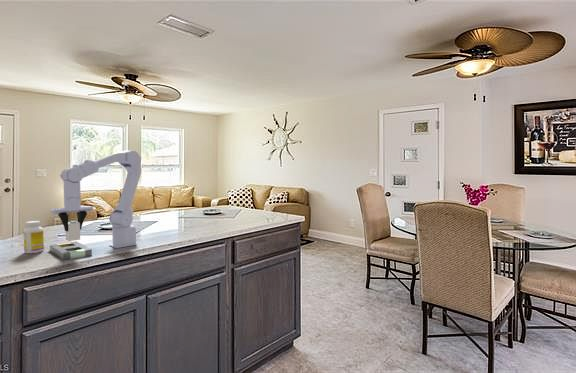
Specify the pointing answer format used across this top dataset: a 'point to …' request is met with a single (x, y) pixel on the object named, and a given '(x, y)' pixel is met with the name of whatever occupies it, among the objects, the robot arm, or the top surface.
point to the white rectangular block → (73, 231)
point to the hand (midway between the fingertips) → (73, 230)
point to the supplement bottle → (33, 237)
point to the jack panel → (70, 250)
